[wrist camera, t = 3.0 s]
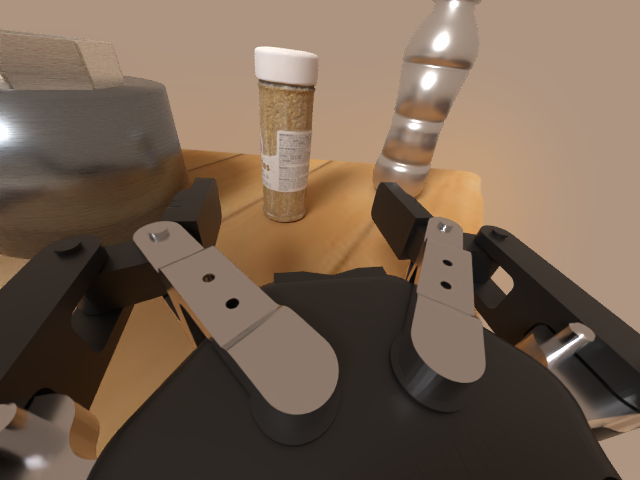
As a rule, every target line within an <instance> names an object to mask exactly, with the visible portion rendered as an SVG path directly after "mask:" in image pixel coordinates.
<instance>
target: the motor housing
mask: <svg viewBox="0 0 640 480" xmlns="http://www.w3.org/2000/svg"><path fill="white" fill-rule="evenodd" d="M183 189H191V187H190V183H189V179H188V175H187V171H186V167H185V163H184V159H183V155H182V151H181V148H180V143H179V139H178V135H177V131H176V128H175V124H174V120H173V116H172V112H171V108H170V104H169V100H168V96H167V92H166V88H165V86H164V85H162V84H161V83H158V82H155V81H152V80H147V79H142V78H136V77H129V76H123V75H122V71H121V69H120V65H119V63H118V60H117V57H116V54H115V51H114V48H113V45H112V43H107V42H102V41H97V40H89V39H81V38H73V37H65V36H56V35H48V34H40V33H31V32H21V31H13V30H3V29H0V254H3V255H7V256H10V257H17V258H24V259H32V258H33V257H34V256H35V255H36V254H37V253H38V252H39V251H40V250H41V249H43V248H44V247H46V246H47V245H49V244H51V243H53V242H55V241H58V240H61V239H64V238H67V237H71V236H77V235H92V236H95V237H97V238H99V239H100V241H101V243H102V244H103V246H109V245H114V244H119V243H124V242H129V241H133V236H134V234H135V232H136V231H137V230H139V229H140V228H142V227H143V226H146V225H148V224H151V223H155V222H159V220H160V219H161V217H162V215H163V214H164V212H165V211H166V209H167V207H168V206H169V204H170V203H171V202H172V199H173V198H174V196H175V194H177V193H179V192H180V191H182V190H183Z"/></svg>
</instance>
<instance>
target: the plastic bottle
mask: <svg viewBox="0 0 640 480" xmlns="http://www.w3.org/2000/svg"><path fill="white" fill-rule="evenodd" d="M433 1H434V2H435V6H434V8H433V10H432V12H431V13H430V14H429V15H428V16H427V18H426V19H425V20H424V21H423V22H422V23H421V24H420V26H419V27H418V29H417V30H416V31H415V32H414V34H413V35H412V37H411V38H410V40H409V42H408V44H407V46H406V48H405V52H404V57H403V61H404V62H403V65H402V70H401V78H400V84H399V91H398V97H397V101H396V106H395V114H394V115H393V119H392V124H391V127H390V130H389V132H388V135H387V138H386V141H385V144H384V147H383V150H382V153H381V154H380V156H379V158H378V160H377V162H376V165H375V168H374V171H373V183H374V186H375V188H376V190H377V188H378V185H379V183H380V182H395V183H397V184H398V185H399V186H400V187H401V188H402V189H403V190H404V191H405V192H406V193H407V194H409V195H411V196H412V197H415V196H417V195H418V194H420V192H421V191H422V189H423V188H424V186H425V184H426V182H427V179H428V175H429V171H430V162H431V159H432V156H433V153H434V149H435V147H436V143H437V140H438V137H439V134H440V131H441V129H442V127H443V125H444V120H445V119H446V118H447V116H448V113H449V111H450V109H451V107H452V104H453V102H454V100H455V98H456V97H457V95H458V93H459V91H460V89H461V87H462V85H463V83H464V82H465V80H466V78H467V76H468V74H469V71H470V69H471V68H472V67H473V64H474V62H475V60H476V58H477V54H478V48H479V38H478V29H477V24H476V20H475V16H474V9H475V5H476V4H479V3H480V2H481V0H433Z"/></svg>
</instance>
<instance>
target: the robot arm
mask: <svg viewBox="0 0 640 480" xmlns="http://www.w3.org/2000/svg"><path fill="white" fill-rule="evenodd" d="M371 215H372V219H373V221H374V223H375V224H376V226H377V227H378V229H379V230H380V232H381V233H382V235H383V236H384V238H385V239H386V241H387V242H388V244H389V245H390V247H391V249H392V250H393V252H394V253H395V255H396V256H397V258H398V259H399V260H406V259H410V260H411V261H410V263H409V265H408V268H407V271H406V275H405V278H404V279H402V278H399V277H396V276H392V275H387V274H386V272H385V270H384V269H383V267H368V268H356V269H353V270H349V271H346V272H342V273H339V274H336V275H326V274H318V273H310V272H287V273H274V282H272V283H269V284H267V285H264V286H262V287H260V288H259V287H258V286H257V285H256V284H255V283H253V282H252V281H251V280H250V279H249V278H248V277H247V276H246V275H245V274H244V273H243V272H242V271H240V270H239V269H238V268H237V267H236V266H235V265H234V264H233V263H232V262H231V261H230V260H229V259H227V258H226V257H225V256H224V255H223V254H222V253H221V252H220V251H219V250H218V249H217V248H215V245H216V241H217V237H218V233H219V229H220V225H221V219H222V215H221V206H220V201H219V195H218V189H217V184H216V180H215V179H214V178H196V179H195V181H194V183H193V185H192V187H191V189H183V190H182V191H180V192H179V193H177V194H175V196H174V198H173V199H172V202H171V203H170V204H169V206H168V207H167V209H166V211H165V212H164V214H163V215H162V217H161V219H160V220H159V222H155V223H151V224H148V225H146V226H143V227H142V228H140V229H139V230H137V231H136V232H135V234H134V236H133V241H129V242H124V243H119V244H114V245H109V246H103V244H102V243H101V241H100V239H99V238H97V237H95V236H92V235H77V236H71V237H67V238H64V239H61V240H58V241H55V242H53V243H51V244H49V245H47V246H46V247H44V248H43V249H41V250H40V251H39V252H38V253H37V254H36V255H35V256H34V257H33V258H32V259H31V260H30V261H29V262H28V263H27V264H26V265H25V266H24V267H23V268H22V269H21V270H20V271H19V272H18V273H17V274H16V275H15V276H14V277H13V278H12V279H11V280H10V281H9V282H8V283H7V284H5V285H4V286H3V287H2V288H1V289H0V480H622V479H621V477H620V476H619V474H618V473H617V471H616V470H615V468H614V467H613V465H612V464H611V462H610V461H609V459H608V458H607V456H606V454H605V453H604V451H603V449H602V448H601V446H600V444H599V443H598V441H601V440H604V439H607V438H610V437H613V436H616V435H619V434H622V433H625V432H628V431H631V430H634V429H637V428H640V334H639V333H638V332H636V331H635V330H634V329H633V328H631V327H630V326H629V325H627V324H626V323H625V322H624V321H622V320H621V319H620V318H619V317H617V316H616V315H615V314H613V313H612V312H611V311H609V310H608V309H607V308H606V307H604V306H603V305H602V304H601V303H599V302H598V301H597V300H596V299H594V298H593V297H591V296H590V295H589V294H588V293H587V292H585V291H584V290H583V289H581V288H580V287H579V286H578V285H576V284H575V283H574V282H572V281H571V280H570V279H569V278H567V277H566V276H565V275H563V274H562V273H561V272H560V271H558V270H557V269H556V268H555V267H553V266H552V265H551V264H549V263H548V262H547V261H546V260H544V259H543V258H542V257H540V256H539V255H538V254H537V253H535V252H534V251H533V250H531V249H530V248H529V247H528V246H526V245H525V244H524V243H522V242H521V241H520V240H519V239H517V238H516V237H515V236H514V235H512V234H511V233H509V232H508V231H506V230H503V229H501V228H498V227H495V226H482V227H481V228H480V230H479V232H478V233H477V235H475V234H469V233H463V230H462V228H461V227H460V226H459V225H458V224H457V223H455V222H453V221H451V220H449V219H446V218H442V217H433V216H432V215H431V214H430V213H429V212H428V211H427V210H426V209H425V208H424V207H422V205H421V204H420V203H419V202H417V200H416V199H415V198H414V197H412V196H411V195H409V194H407V193H406V192H405V191H404V190H403V189H402V188H401V187H400V186H399V185H398V184H397V183H395V182H380V183H379V185H378V188H377V191H376V195H375V199H374V202H373V206H372V211H371ZM499 266H501V267H502V268H503V269H504V270H505V271H506V272H507V273H508V274H509V275H510V276H511V277H512V279H513V282H514V287H513V289H512V290H511V291H510V292H509V294H508V295H506V294H505V293H504V292H503V291H502V290H501V289H500V288H499V287H498V286H497V285H496V284H495V283H494V282H493V280H492V279H491V276H492V275H493V274H494V272H495V271H496V270H497V269H498V267H499ZM160 296H161V298H162V300H163V301H164V302H165V304H166V305H167V307H168V308H169V310H170V311H171V312H172V314H173V315H174V317H175V318H176V320H177V321H178V322H179V324H180V325H181V327H182V328H183V330H184V331H185V333H186V335H187V337H188V338H189V340H190V342H191V344H192V345H193V347H194V349H195V350H194V351H193V352H192V353H191V354H190V355H189V356H188V357H187V358H186V359H185V360H184V361H183V362H182V363H181V365H180V366H179V367H178V368H177V369H176V370H175V371H174V372H173V373H172V374H171V375H170V376H169V377H168V378H167V379H166V380H165V381H164V382H163V383H162V384H161V386H160V387H159V388H158V389H157V390H156V391H155V392H154V393H153V394H152V395H151V396H150V397H149V398H148V399H147V400H146V401H145V402H144V403H143V404H142V405H141V407H140V408H139V409H138V410H137V411H136V412H135V413H134V414H133V415H132V416H131V417H130V418H129V419H128V420H127V421H126V422H125V423H124V424H123V426H122V427H121V428H120V429H119V430H118V431H117V432H116V434H115V435H114V436H113V437H112V438H111V440H110V441H109V442H108V444H107V445H106V446H105V448H104V449H103V451H102V452H101V454H100V455H99V457H98V459H97V456H96V445H97V441H98V436H99V431H100V425H99V421H98V419H97V417H96V416H95V415H94V414H92V413H91V412H90V411H89V409H90V407H91V404H92V402H93V400H94V397H95V395H96V393H97V390H98V388H99V386H100V383H101V381H102V379H103V376H104V374H105V372H106V369H107V367H108V365H109V362H110V360H111V358H112V356H113V353H114V351H115V349H116V346H117V344H118V342H119V339H120V337H121V335H122V332H123V330H124V328H125V325H126V323H127V321H128V318H129V316H130V314H131V311H132V309H133V307H134V304H137V303H140V302H143V301H147V300H150V299H153V298H156V297H160ZM76 306H77V308H76ZM474 307H475V308H476V309H477V311H478V312H479V313H480V315H481V316H482V317H483V318H484V320H485V321H486V322H487V323H488V325H489V326H490V328H491V329H492V330H493V332H494V333H495V334H494V333H493V332H491V331H489V330H488V329H486V328H484V327H483V326H482V322H481V320H480V319H479V318H477V317H476V316H475V310H474ZM75 308H76V310H75V311H74V309H75ZM73 311H74V313H73ZM72 313H73V314H72Z"/></svg>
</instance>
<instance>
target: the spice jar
mask: <svg viewBox="0 0 640 480" xmlns="http://www.w3.org/2000/svg"><path fill="white" fill-rule="evenodd" d="M255 73H256V77H257V78H258V79H259V82H258V86H259V98H260V124H261V130H260V137H261V161H262V182H263V193H264V205H263V211H264V214H265V215H266V216H267V217H268V218H270V219H272V220H275V221H278V222H291V221H296V220H299V219H301V218H302V217H303V216H304V215H305V214H306V206H305V201H306V190H307V189H306V187H307V185H308V174H309V162H310V149H311V135H312V112H313V99H314V98H313V96H314V92H315V88H314V86H315V85H316V84H317V76H318V56H317V55H315V54H312V53H309V52H305V51H298V50H291V49H283V48H276V47H267V46H265V47H257V48H256V49H255Z"/></svg>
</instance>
